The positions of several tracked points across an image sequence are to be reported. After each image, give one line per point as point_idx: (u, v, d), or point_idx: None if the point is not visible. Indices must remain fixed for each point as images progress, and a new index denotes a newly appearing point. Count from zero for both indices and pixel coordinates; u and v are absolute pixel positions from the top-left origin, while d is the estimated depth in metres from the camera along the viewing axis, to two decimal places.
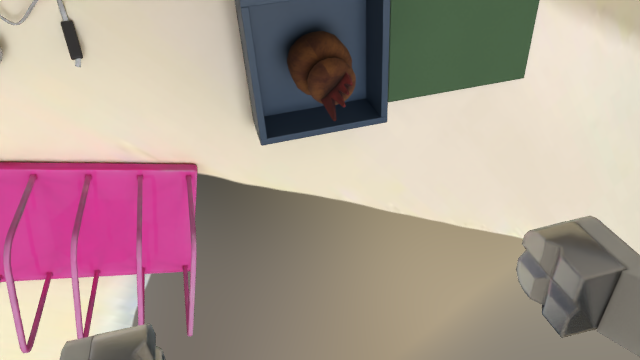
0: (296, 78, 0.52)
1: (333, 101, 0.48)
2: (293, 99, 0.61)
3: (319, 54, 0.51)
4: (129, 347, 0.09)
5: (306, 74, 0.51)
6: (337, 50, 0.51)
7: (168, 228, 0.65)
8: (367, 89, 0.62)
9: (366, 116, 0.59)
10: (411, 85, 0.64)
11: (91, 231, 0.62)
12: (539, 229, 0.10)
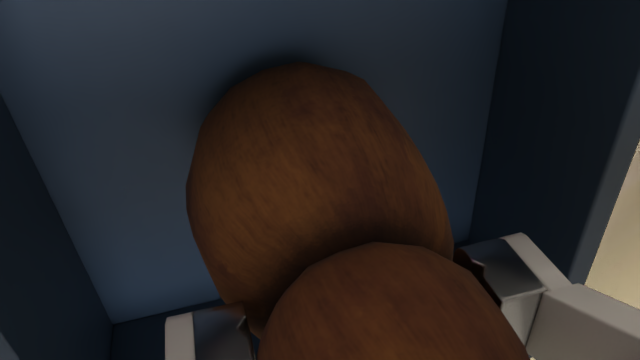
0: (324, 156, 0.09)
1: None
2: (65, 89, 0.13)
3: (445, 245, 0.11)
4: (230, 322, 0.09)
5: (372, 217, 0.09)
6: None
7: None
8: (153, 326, 0.19)
9: None
10: None
11: None
12: (467, 246, 0.10)
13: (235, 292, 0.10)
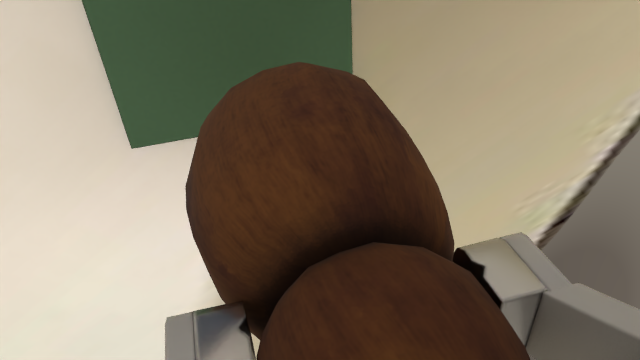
0: (324, 157, 0.09)
1: None
2: None
3: (445, 246, 0.11)
4: (230, 322, 0.09)
5: (372, 218, 0.09)
6: None
7: None
8: None
9: None
10: None
11: None
12: (467, 246, 0.10)
13: (236, 293, 0.10)
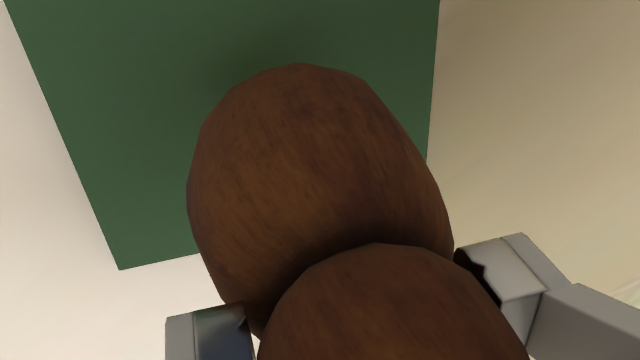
0: (324, 157, 0.09)
1: None
2: None
3: (445, 246, 0.11)
4: (230, 322, 0.09)
5: (372, 218, 0.09)
6: None
7: None
8: None
9: None
10: None
11: None
12: (467, 246, 0.10)
13: (236, 293, 0.10)
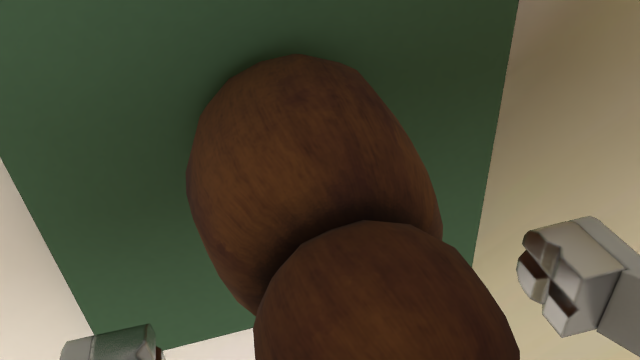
0: (318, 140, 0.09)
1: None
2: None
3: (434, 227, 0.11)
4: (129, 347, 0.09)
5: (363, 198, 0.10)
6: None
7: None
8: None
9: None
10: None
11: None
12: (539, 229, 0.10)
13: (233, 271, 0.10)
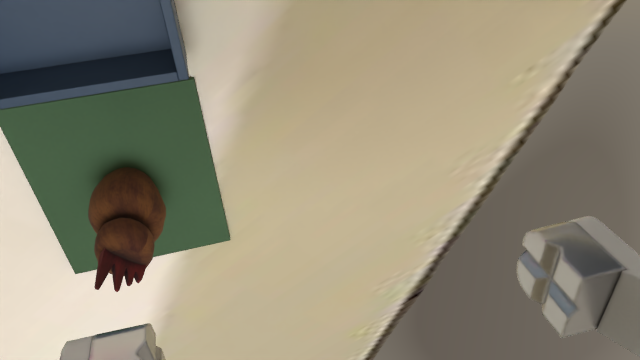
0: (113, 199, 0.42)
1: (110, 267, 0.39)
2: None
3: (149, 219, 0.43)
4: (129, 347, 0.09)
5: (123, 212, 0.42)
6: (156, 234, 0.45)
7: None
8: (7, 74, 0.40)
9: None
10: (30, 139, 0.44)
11: None
12: (539, 229, 0.10)
13: (95, 229, 0.42)
